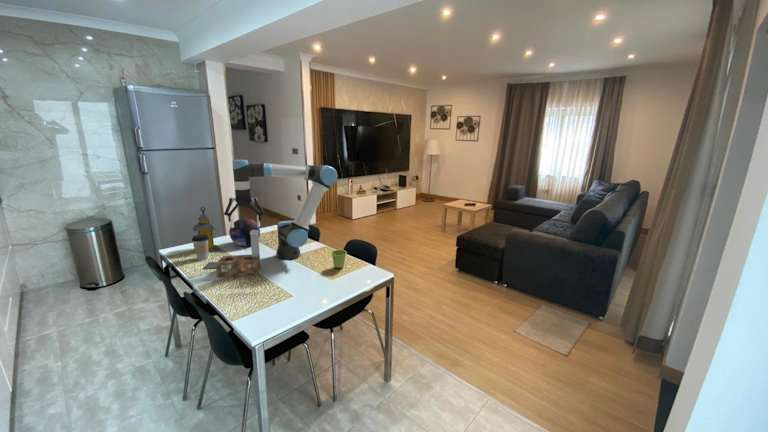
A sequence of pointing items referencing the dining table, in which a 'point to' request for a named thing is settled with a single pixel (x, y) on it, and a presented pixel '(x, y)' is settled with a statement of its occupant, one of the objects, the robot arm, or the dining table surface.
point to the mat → (210, 265)
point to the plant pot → (338, 257)
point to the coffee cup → (201, 246)
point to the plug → (254, 244)
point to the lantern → (206, 230)
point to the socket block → (237, 266)
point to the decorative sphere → (243, 231)
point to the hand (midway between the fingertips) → (245, 227)
